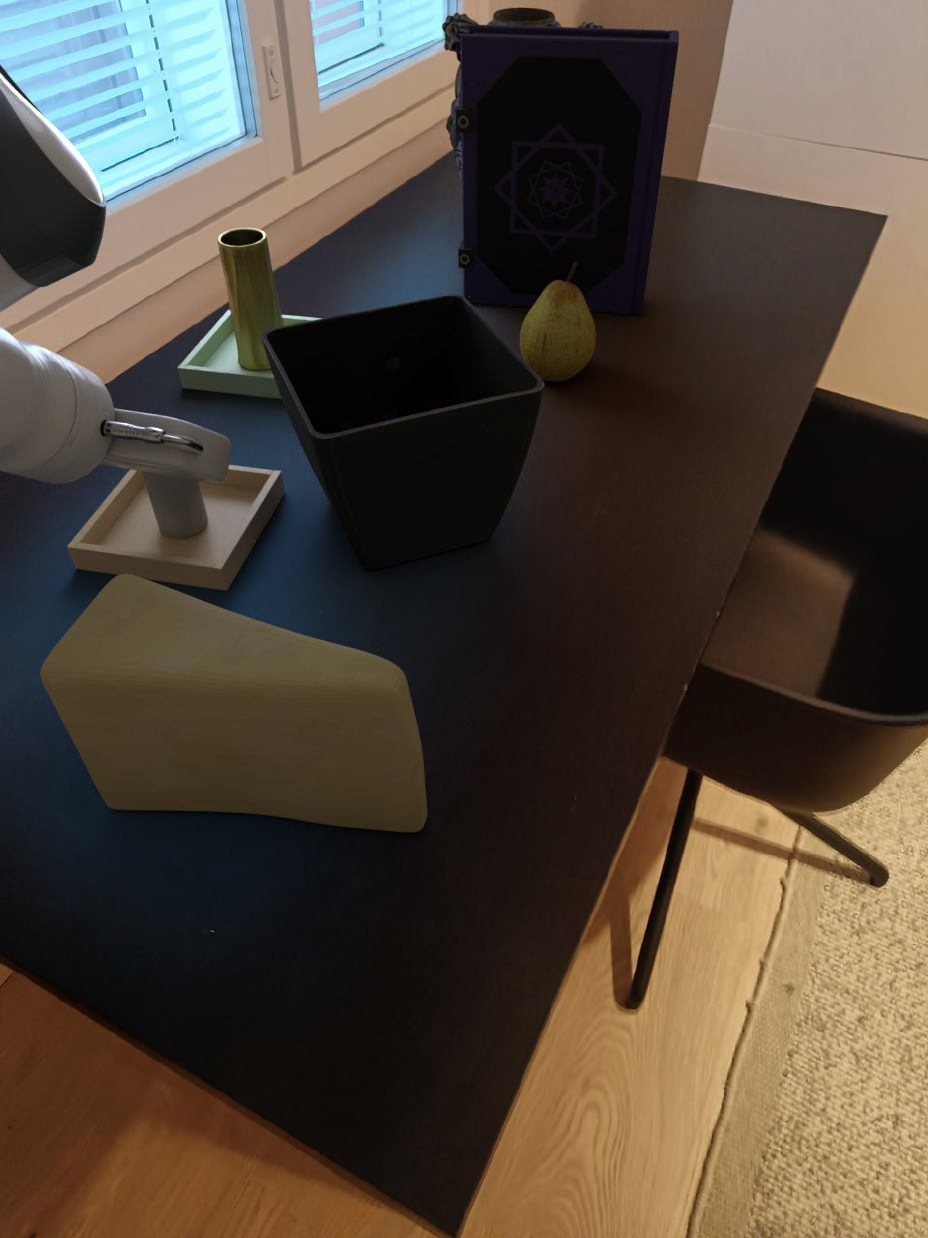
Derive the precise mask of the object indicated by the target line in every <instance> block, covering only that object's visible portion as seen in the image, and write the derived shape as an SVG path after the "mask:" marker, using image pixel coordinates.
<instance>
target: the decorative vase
mask: <svg viewBox="0 0 928 1238" xmlns="http://www.w3.org/2000/svg"><path fill="white" fill-rule="evenodd" d="M555 15H556V14H555V13H554V12H553V11H550V10H548V9H545V8H544V9H543V8H537V7H536V8H535V7H507V8H506V7H505V8H502V9H498V10H496V11H495V12H494V13H493V14H492V20H490V21H489V22H488V23H487V24H486V25H506V26H541V27H563V26H562V24H561V23H560V22H559V21H557V20H556V16H555ZM468 24H472V25H480V24H479V23H478V22H477V21H476V20H474V19H472V18H470V17H469V16H468V15H467V14H466V13H461V14H460V13H459V12H455V13H454V14H453V15H447V16H446V17H445V21H444V22H442V25H441V29H442V32H443V33H444V44H443V48H444V50H445V51H449V52H453V53H455V54H456V59H457V61H458V62H459V64H458V67H457V70H456V73H455V78H454V99H453V100H452V101H451V105H450V113H449V115H448V117H447V119H446V124H445V128H446V130H447V133H448V134H449V141H450V145H451V147H452V151H453V156H454V161H455V166H456V170H457V172H458V176H459V180H460V183H461V184H462V133H459V132H457V124H456V109H457V108H458V106H459V104H460V103H461V36H460V35H461V34H468ZM576 28H604V26H603V25H601V24H598V25H596V23H595V22H594V21H591V22H588V23H587V22H582V23H581V24H580V25H579V26H576Z"/></svg>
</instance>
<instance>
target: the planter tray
mask: <svg viewBox="0 0 928 1238" xmlns="http://www.w3.org/2000/svg"><path fill="white" fill-rule="evenodd" d="M282 471H283V470H277V469H276V470H275V469H274V470H273V469H267V468H259V467H252V466H251V467H250V466H242V465H233V464H229V468H228V472H227V475H226V478H225V479H224V480H223V481H222V482H218V483H214V482H206V481H200V480H198V482H199V486H200V489H201V493H202V497H203V501H204V504H205V508H206V512H207V517H208V523H207V525H206V527H205V528H204V529H203V530H202V531H201V532H199V533H198V534H196V535H194V536H191V537H187V538H180V539H177V538H170V537H167V536H165V535H164V534H162V533H161V531H160V529H159V526H158V524H157V521H156V517H155V514H154V511H153V508H152V505H151V502H150V499H149V495H148V492H147V489H146V486H145V483H144V480H143V477H142V473H141V471H138V470H132V469H128V471H127V472H126V474H125V475H124V476H123V477H122V479H121V480H120V481H119V482H118V483H117V485H116V486H115V487H114V488H113V490H112V491H111V492H110V493H109V494H108V496H107V497H106V498H105V500H104V501H103V502H102V503H101V504H100V505H99V506H98V507H97V509H96V510H95V511H94V513H93V514H92V515H91V516H90V518H89V519H88V520H87V522H86V523H85V524H84V525H83V526H82V528H81V529H80V530H79V531H78V533H76V534H75V536H74V537H73V539H72V540H71V541H70V542H69V543H68V545H66V549H67V551H68V554H69V556H70V558H71V561H72V563H73V565H74V569H76V570H83V571H89V572H95V573H101V574H102V573H103V574H108V575H109V574H110V575H116V576H118V575H120V574H132V575H135V576H138V577H141V578H144V579H147V580H149V581H156V582H163V583H170V584H176V585H184V586H190V587H196V588H204V589H209V590H218V591H223V592H224V591H225V592H228V591H229V588H230V587H231V585H232V584H233V582H234V580H235V579H236V577H237V575H238V573H239V572H240V570H241V568H242V566H243V565H244V563H245V562H246V560H247V558H248V556H249V555H250V553H251V552H252V549H253V548H254V546H255V545H256V542H257V541H258V539H259V538H260V536H261V535H262V533H263V531H264V529H265V528H266V526H267V525H268V523H269V521H270V520H271V518H272V516H273V514H274V513H275V511H276V509H277V507H278V506H279V504H280V503H281V501H282V499H283V497H284V496H285V494H286V489H285V482H284V477H283V472H282Z"/></svg>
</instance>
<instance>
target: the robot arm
mask: <svg viewBox="0 0 928 1238" xmlns="http://www.w3.org/2000/svg"><path fill="white" fill-rule="evenodd" d="M106 216H107V200H106V197H105V194H104V192H103V189H102V188H101V186H100V184H99V182H98V180H97V178H96V176H95V174H94V172H93V171H92V169H91V167H90V166H89V163H87V161H86V160H85V159H84V157H83V156H82V155H81V153H80V152H79V151H78V150H77V148H76V147H75V146H74V144H73V143H71V142H70V140H69V139H68V138H67V137H66V136H65V135H64V134H63V133H62V132H61V131H60V130H59V129H58V128H57V127H56V126H55V125H54V124H53V123H52V122H51V121H49V119H48V118H47V117H46V116H45V115H44V114H43V113H42V112H41V110H40V109H39V108H38V107H37V106H36V105H35V104H34V103H33V102H32V100H31V99H30V98H29V97H28V96H27V95H26V93H25V92H24V91H23V90H22V89H21V87H19V85H17V82H15V80H13V78H12V77H11V76H10V74H9V73H8V72H7V71H6V69H5V68H4V67H3V66H2V65H1V64H0V313H2V312H4V311H5V310H6V309H8V308H10V307H12V306H14V305H15V304H17V303H18V302H19V301H21V300H23V299H24V298H26V297H27V296H29V295H31V294H32V293H34V292H36V291H37V290H39V289H40V288H45V287H49V286H50V285H51V286H52V284H54V283H57V282H59V281H61V280H63V279H65V278H67V277H70V276H72V275H73V274H74V275H75V274H76V273H78V272H80V271H82V270H84V269H86V268H88V267H90V266H92V265H94V263H95V262H96V260H97V258H98V254H99V251H100V248H101V244H102V241H103V236H104V233H105V232H104V231H105V227H106V220H107V219H106V218H107V217H106ZM172 417H173V416H168V417H167V415H161V414H154V413H147V412H140V411H134V410H128V409H121V408H115V407H114V402H113V399H112V397H111V394H110V392H109V389H108V388H107V387H106V385H105V384H104V382H103V381H102V380H101V378H100V377H98V375H97V374H95V373H94V372H93V371H91V370H90V369H88V368H86V367H84V366H82V365H80V364H78V363H76V362H75V361H72V360H70V359H68V358H66V357H64V356H62V355H59V354H58V353H56V352H54V351H52V350H50V349H47V348H45V347H43V346H42V345H39V344H36V343H33V342H30V341H25V340H19V339H17V338H16V337H15V336H14V335H13V334H11V333H10V332H9V331H8V330H6V329H5V328H3V327H2V326H0V472H3V473H6V474H11V475H15V476H19V477H23V478H26V479H29V480H30V479H31V480H35V481H38V482H41V483H46V484H51V485H63V484H68V483H72V482H75V481H78V480H81V479H82V478H84V477H86V476H87V475H88V474H90V473H91V472H92V471H94V470H95V469H96V468H97V467H98V466H99V465H101V466H109V467H113V468H120V469H127V470H130V469H132V470H138V471H144V472H150V473H157V474H163V475H169V476H175V477H181V478H187V479H194V480H200V481H206V482H214V483H218V482H222V481H223V480H224V479H225V478H226V475H227V472H228V468H229V465H230V462H231V456H232V441H231V439H230V438H228V437H227V436H225V435H223V434H221V433H219V432H216V431H213V430H211V429H208V428H206V427H203V426H200V425H198V424H195V423H192V422H189V421H187V420H183V419H180V418H176V417H173V418H172Z"/></svg>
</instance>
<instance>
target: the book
mask: <svg viewBox="0 0 928 1238" xmlns="http://www.w3.org/2000/svg"><path fill="white" fill-rule="evenodd" d="M460 36H461V52H460V53H461V103H460V104H459V106H458V108H457V109H456V124H457V132H459V133H462V183H461V192H462V193H461V195H462V196H461V197H462V198H461V199H462V200H461V201H462V202H461V203H462V205H461V206H462V208H461V209H462V240H461V242H460V245H459V247H458V250H457V251H458V254H457V255H458V257H457V259H458V268H459V269H462V283H463V284H462V285H463V286H462V289H463V291H462V293H463V294H462V296H463V295H464V297H465V298H466V299H467V300H468V301H469V302H470V303H471V304H475V305H488V306H489V305H490V306H501V307H502V306H504V307H517V308H519V307H520V308H530V309H531V308H532V306H533V305H534V304H535V302H536V301H537V300H538V298H539V297H540V295H541V294H542V292H543V291H544V289H545V288H546V287H547V286H548V285H549V284H550V283H552V282H553V281H556V280H561V281H565V282H566V280H567V278H568V276H569V274H570V272H571V269H572V266H573V263H574V262H578V263H579V264H578V266H577V267H576V270H575V272H574V275H573V276H572V278H571V280H570V283H571V284H574V285H575V286H577V287H578V288H579V289H580V291H581V292H582V294H583V297H584V299H585V301H586V304H587V306H588V308H589V310H590V313H601V314H602V313H603V314H616V315H617V314H618V315H631V314H632V315H634V316H642V314H643V309H644V300H645V293H646V287H647V279H648V272H649V265H650V264H649V263H650V258H651V257H650V256H651V252H652V251H651V250H652V244H653V235H654V229H655V222H656V221H655V220H656V214H657V205H658V198H659V191H660V184H661V177H662V169H663V162H664V155H665V147H666V140H667V133H668V125H669V118H670V111H671V104H672V97H673V90H674V83H675V74H676V67H677V59H678V52H679V46H680V31H679V30H676V29H675V30H674V29H673V30H672V29H670V30H664V29H642V28H641V29H640V28H607V27H606V28H605V27H603V28H577V27H574V26H573V27H572V26H562V27H541V26H506V25H487V24H479V25H472V24H468V34H461V35H460ZM469 296H470V297H469Z"/></svg>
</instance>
